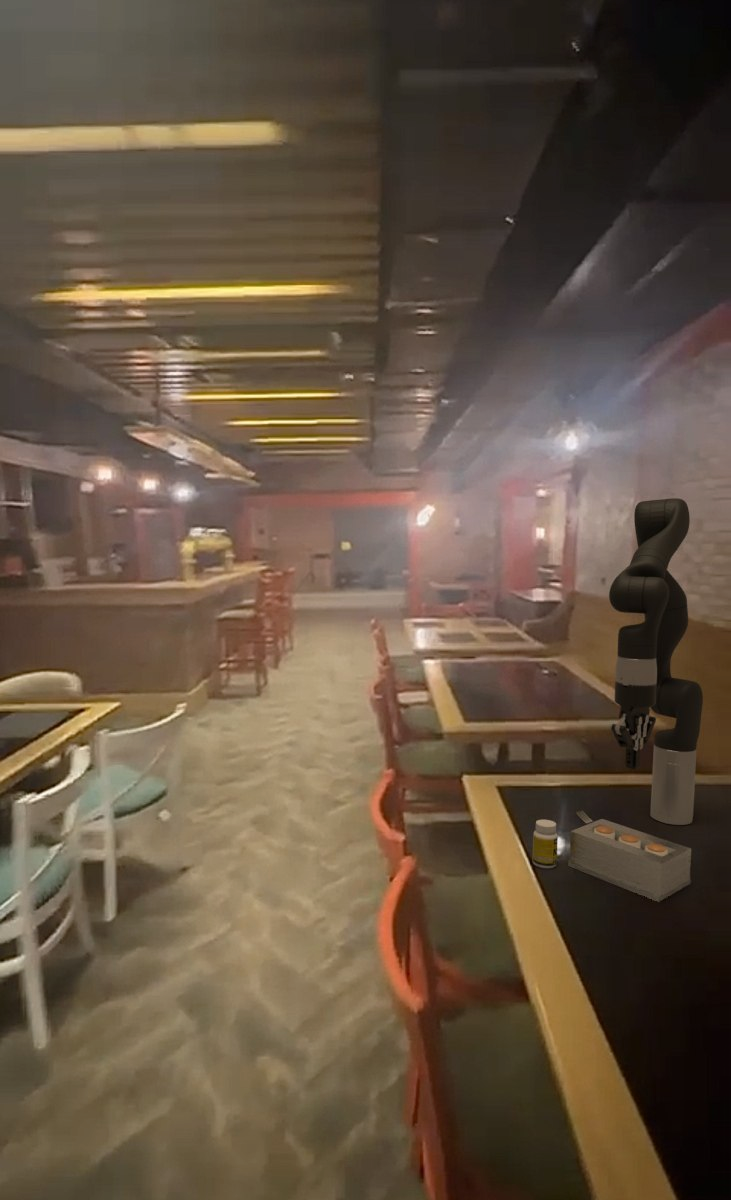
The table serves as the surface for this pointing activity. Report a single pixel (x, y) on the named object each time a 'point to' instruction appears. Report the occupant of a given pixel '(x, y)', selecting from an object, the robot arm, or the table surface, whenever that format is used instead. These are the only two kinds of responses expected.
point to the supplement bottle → (545, 844)
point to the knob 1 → (605, 831)
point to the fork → (585, 817)
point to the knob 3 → (656, 849)
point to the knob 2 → (630, 840)
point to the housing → (630, 861)
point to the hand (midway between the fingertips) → (632, 767)
